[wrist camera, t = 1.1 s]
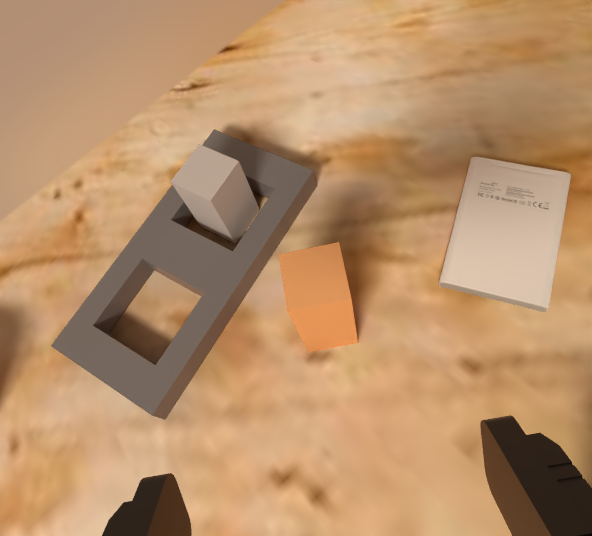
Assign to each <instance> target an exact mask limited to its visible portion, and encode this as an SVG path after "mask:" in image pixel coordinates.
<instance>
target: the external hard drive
mask: <svg viewBox="0 0 592 536" xmlns="http://www.w3.org/2000/svg"><path fill="white" fill-rule="evenodd" d="M570 178H571V174H569V173H567V172H562V171H557V170H551V169H545V168H539V167H533V166H527V165H522V164H516V163H511V162H505V161H499V160H494V159H488V158H483V157H472V158H471V161H470V164H469V168H468V172H467V176H466V180H465V184H464V187H463V191H462V195H461V199H460V203H459V206H458V210H457V214H456V218H455V222H454V226H453V230H452V234H451V237H450V241H449V245H448V249H447V253H446V257H445V261H444V265H443V269H442V273H441V277H440V281H439V286H441V287H445V288H449V289H453V290H457V291H462V292H466V293H470V294H473V295H478V296H482V297H486V298H490V299H494V300H498V301H502V302H506V303H510V304H514V305H518V306H522V307H525V308H529V309H533V310H537V311H541V312H546V311H547V310H548V309H549V303H550V298H551V292H552V286H553V280H554V274H555V268H556V262H557V256H558V250H559V244H560V238H561V232H562V226H563V220H564V214H565V208H566V202H567V196H568V190H569V184H570Z"/></svg>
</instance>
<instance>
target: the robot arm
mask: <svg viewBox="0 0 592 536" xmlns="http://www.w3.org/2000/svg"><path fill="white" fill-rule="evenodd" d="M481 436H482V445H483V455H484V465H485V472H486V477H487V481H488V484H489V487H490V490H491V493H492V495H493V497H494V499H495V501H496V503H497V505H498V507H499V509H500V511H501V513H502V515H503V517H504V519H505V521H506V523H507V526H508V528H509V530H510V532H511V534H512V536H592V488H591V487H590V485H589V484H588V483H587V481H586V480H585V479H583V478H582V475H581V474H580V472H579V471H578V470H577V468H576V467H575V466H574V465H572V462H571V460H570V459H569V458H568V456H567V455H566V454H565V452H564V451H563V450H562V448H561V447H560V446H559V445H558V444H556V443H555V442H553V441H552V440H550V439H549V438H547V437H546V436H544V435H543V434H541V433H536V434H530V435H526V434H525V433H524V431H523V430H522V428H521V427H520V425H519V424H518V423H517V421H516V420H515V418H514V417H513V416H505V417H499V418H493V419H488V420H482V421H481ZM102 536H191V523H190V518H189V515H188V512H187V509H186V507H185V504H184V501H183V498H182V495H181V492H180V490H179V487H178V484H177V481H176V479H175V477H174V475H173V474H171V473H170V474H164V475H158V476H152V477H146V478H143V479H142V480H141V481H140V483H139V486H138V488H137V491H136V493H135V496H134V498H133V501H130V502H124V503H123V504H122V505H121V506H120V508H119V509H118V510H117V511H116V512H115V513H114V515H113V516H112V517H111V518H110V519H109V521H108V523H107V526H106V528H105V530H104V532H103V535H102Z"/></svg>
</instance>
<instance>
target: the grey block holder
mask: <svg viewBox="0 0 592 536" xmlns="http://www.w3.org/2000/svg"><path fill="white" fill-rule="evenodd" d="M171 183H172V186H171V187H170V189H169V190H168V191H167V193H166V194H165V195H164V197H163V198H162V199H161V201H160V202H159V203H158V205H157V206H156V207H155V209H154V210H153V211H152V213H151V214H150V215H149V217H148V218H147V219H146V220H145V222H144V223H143V224H142V226H141V227H140V228H139V230H138V231H137V232H136V234H135V235H134V236H133V238H132V239H131V240H130V242H129V243H128V244H127V246H126V247H125V248H124V250H123V251H122V252H121V254H120V255H119V256H118V258H117V259H116V260H115V262H114V263H113V264H112V266H111V267H110V268H109V270H108V271H107V272H106V274H105V275H104V276H103V278H102V279H101V280H100V281H99V283H98V284H97V285H96V287H95V288H94V289H93V291H92V292H91V293H90V295H89V296H88V297H87V299H86V300H85V301H84V303H83V304H82V305H81V307H80V308H79V309H78V311H77V312H76V313H75V315H74V316H73V317H72V319H71V320H70V321H69V323H68V324H67V325H66V327H65V328H64V329H63V331H62V332H61V333H60V335H59V336H58V337H57V339H56V340H55V341H54V342H53V344H52V345H51V346H52V347H53V348H55V349H56V350H58V351H59V352H61V353H62V354H63V355H65V356H66V357H68V358H69V359H71V360H72V361H74V362H75V363H77V364H78V365H79V366H81V367H82V368H84V369H85V370H87V371H88V372H90V373H91V374H93V375H94V376H96V377H97V378H98V379H100V380H101V381H103V382H104V383H106V384H107V385H109V386H110V387H112V388H113V389H114V390H116V391H117V392H119V393H120V394H122V395H123V396H125V397H126V398H128V399H129V400H130V401H132V402H133V403H135V404H136V405H138V406H139V407H141V408H142V409H144V410H145V411H146V412H148V413H149V414H151V415H153V416H156V417H159V418H162V419H166V418H167V416H168V414H169V413H170V411H171V410H172V408H173V407H174V405H175V404H176V402H177V401H178V399H179V398H180V396H181V394H182V393H183V391H184V390H185V388H186V387H187V385H188V384H189V382H190V381H191V379H192V378H193V376H194V374H195V373H196V371H197V370H198V368H199V367H200V365H201V364H202V362H203V361H204V359H205V357H206V356H207V354H208V353H209V351H210V350H211V348H212V347H213V345H214V344H215V342H216V341H217V339H218V337H219V336H220V334H221V333H222V331H223V330H224V328H225V327H226V325H227V324H228V322H229V320H230V319H231V317H232V316H233V314H234V313H235V311H236V310H237V308H238V307H239V305H240V304H241V302H242V300H243V299H244V297H245V296H246V294H247V293H248V291H249V290H250V288H251V287H252V285H253V284H254V282H255V280H256V279H257V277H258V276H259V274H260V273H261V271H262V270H263V268H264V267H265V265H266V263H267V262H268V260H269V259H270V257H271V256H272V254H273V253H274V251H275V250H276V248H277V247H278V245H279V243H280V242H281V240H282V239H283V237H284V236H285V234H286V233H287V231H288V230H289V228H290V226H291V225H292V223H293V222H294V220H295V219H296V217H297V216H298V214H299V213H300V211H301V210H302V208H303V206H304V205H305V203H306V202H307V200H308V199H309V197H310V196H311V194H312V193H313V191H314V190H315V188H316V186H317V185H316V180H315V175H314V170H312V169H309V168H307V167H304V166H302V165H299V164H297V163H295V162H292V161H290V160H287V159H285V158H282V157H280V156H278V155H275V154H273V153H270V152H268V151H265V150H263V149H261V148H258V147H256V146H253V145H251V144H248V143H246V142H244V141H241V140H239V139H236V138H234V137H231V136H229V135H227V134H224V133H222V132H219V131H217V130H215V129H214V130H213V132H212V133H211V134H210V136H209V137H208V138H207V140H206V141H205V142H204V144H203V145H200V144H199V145H198V146H197V147H196V149H195V150H194V151H193V153H192V154H191V155H190V157H189V158H188V159H187V161H186V162H185V163H184V165H183V166H182V167H181V169H180V170H179V171H178V172H177V174H176V175H175V176H174V178H173V179H172V180H171ZM252 191H253V192H256V193H258V194H260V195H262V196H265V197H267V198H269V199H268V200H267V202H266V203H265V204H264V206H263V207H262V209H261V210H260V209H259V207H258V205H257V202H256V200H255V198H254V195H253V193H252ZM259 210H260V212H259ZM258 212H259V213H258ZM257 213H258V215H257V216H256V214H257ZM193 216H194V217H195V219H196V220H197V222H198V223H199V225H200V226H201V227H202V228H204V229H206V230H208V231H210V232H212V233H214V234H216V235H218V236H220V237H222V238H224V239H226V240H228V241H230V242H232V243H234V244H237V242H238V241H239V240H240V238H241V237H242V235H243V234H244V232H245V231H246V229H247V228H248V226H249V225H250V223H251V222H252V220H253V219H254V217H255V216H256V218H255V219H254V221H253V222H252V224H251V225H250V227H249V228H248V230H247V231H246V232H245V234H244V235H243V237H242V238H241V240H240V241H239V243H238V244H237V246H236V247H235V249H234V250H233V251H231V250H229V249H227V248H225V247H223V246H221V245H219V244H217V243H215V242H213V241H211V240H209V239H207V238H205V237H203V236H201V235H199V234H197V233H196V232H194V231H192V230H190V229H188V228H186V225H187V224H188V223H189V221H190V220H191V218H192V217H193ZM154 270H155V271H157V272H159V273H160V274H162V275H164V276H166V277H167V278H169V279H171V280H173V281H175V282H176V283H178V284H180V285H182V286H184V287H185V288H187V289H189V290H191V291H193V292H194V293H196V294H198V295H200V296H202V297H201V299H200V300H199V302H198V303H197V305H196V306H195V308H194V309H193V311H192V312H191V314H190V315H189V317H188V318H187V320H186V321H185V322H184V324H183V325H182V327H181V328H180V330H179V331H178V333H177V334H176V336H175V337H174V339H173V340H172V342H171V343H170V345H169V346H168V348H167V349H166V351H165V352H164V353H163V355H162V356H161V358H160V359H159V361H158V362H157V364H156V365H155V364H154V363H152V362H151V361H149V360H148V359H146V358H144V357H143V356H141V355H140V354H138V353H137V352H135V351H133V350H132V349H130V348H129V347H127V346H126V345H124V344H123V343H121V342H119V341H118V340H116V339H115V338H113V337H112V336H110V335H108V333H109V332H110V331H111V329H112V328H113V326H114V325H115V324H116V322H117V321H118V319H119V318H120V317H121V315H122V314H123V313H124V311H125V310H126V308H127V307H128V306H129V304H130V303H131V302H132V300H133V299H134V297H135V296H136V295H137V293H138V292H139V290H140V289H141V288H142V286H143V285H144V284H145V282H146V281H147V279H148V278H149V277H150V275H151V274H152V272H153V271H154Z"/></svg>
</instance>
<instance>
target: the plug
mask: <svg viewBox="0 0 592 536" xmlns="http://www.w3.org/2000/svg"><path fill="white" fill-rule="evenodd" d="M279 260H280V266H281V272H282V279H283V285H284V292H285V298H286V304H287V311H288V313H289V315H290V317H291V319H292V321H293V323H294V325H295V327H296V329H297V331H298V333H299V335H300V336H301V338H302V340H303V342H304V344H305V346H306V348H307V350H308V352H312V351H318V350H323V349H328V348H333V347H338V346H343V345H348V344H354V343H358V339H357V333H356V326H355V319H354V313H353V306H352V299H351V295H350V290H349V285H348V281H347V276H346V272H345V267H344V262H343V258H342V253H341V249H340V244H339V242H336V243H332V244H327V245H322V246H317V247H313V248H308V249H303V250H298V251H294V252H289V253H284V254H279Z"/></svg>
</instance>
